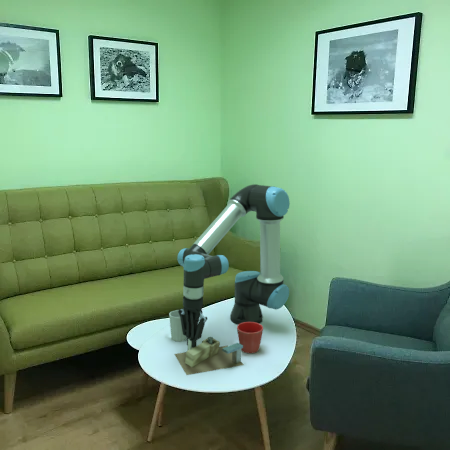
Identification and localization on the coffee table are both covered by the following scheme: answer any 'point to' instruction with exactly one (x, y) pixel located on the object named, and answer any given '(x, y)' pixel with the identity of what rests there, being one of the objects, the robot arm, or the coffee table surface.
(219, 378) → the coffee table surface
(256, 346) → the flower pot
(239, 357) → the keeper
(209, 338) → the pin
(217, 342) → the link
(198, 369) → the board
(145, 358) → the coffee table surface
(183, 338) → the cup
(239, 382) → the coffee table surface
